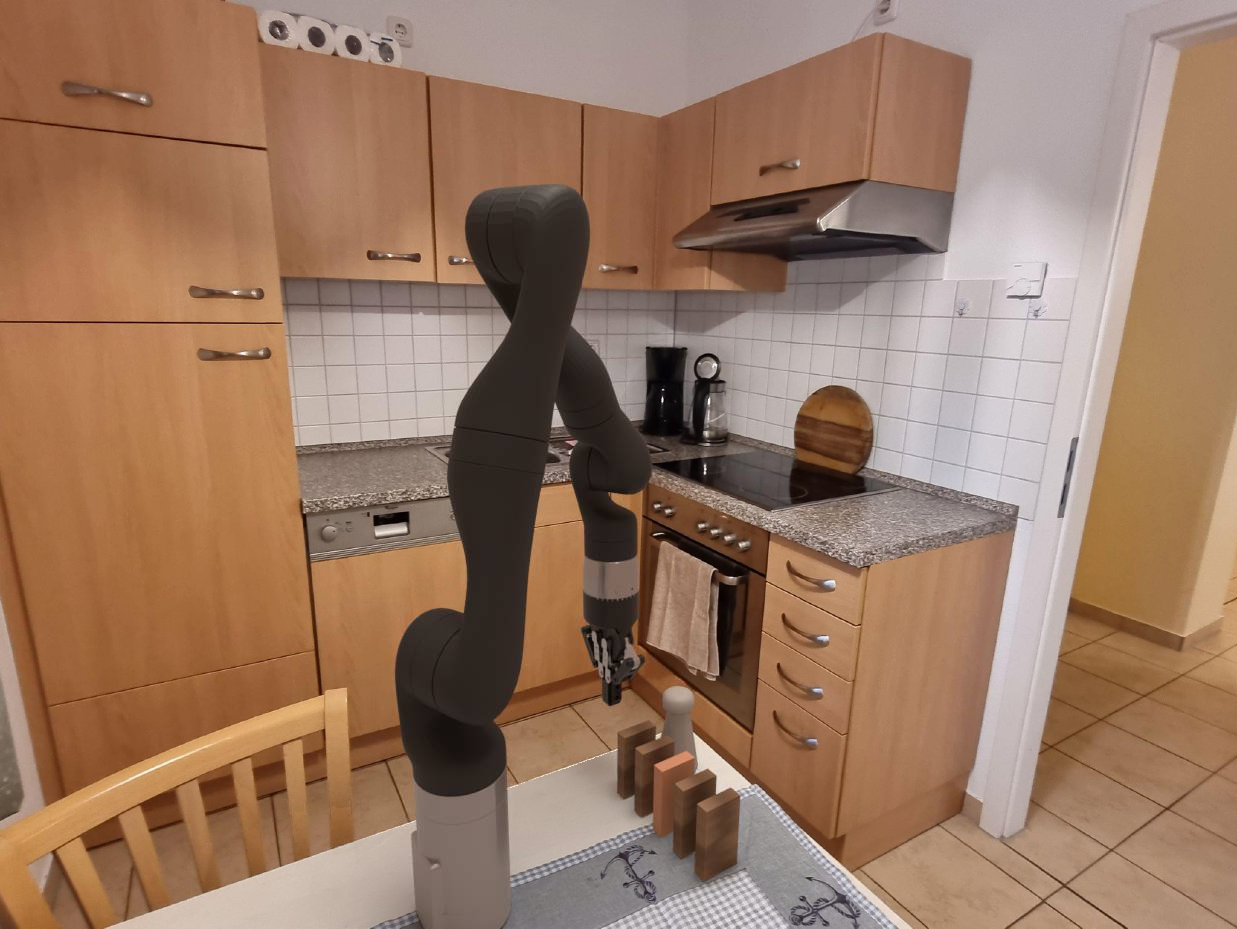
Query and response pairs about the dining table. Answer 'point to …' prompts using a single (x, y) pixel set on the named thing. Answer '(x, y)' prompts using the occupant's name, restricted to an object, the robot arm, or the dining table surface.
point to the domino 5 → (717, 834)
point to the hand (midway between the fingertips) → (611, 702)
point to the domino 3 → (669, 789)
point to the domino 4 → (690, 809)
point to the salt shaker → (679, 720)
